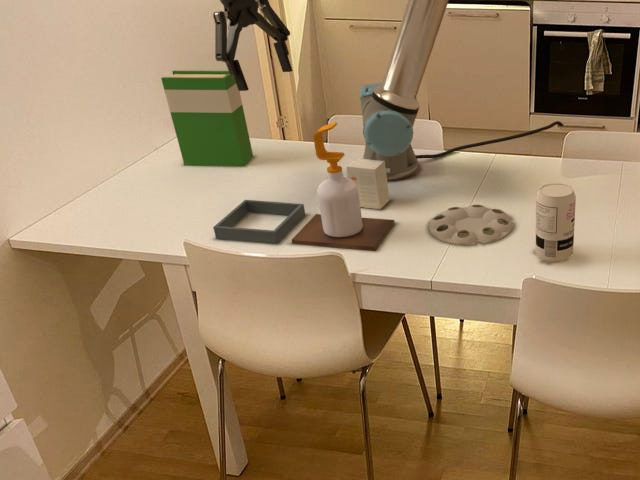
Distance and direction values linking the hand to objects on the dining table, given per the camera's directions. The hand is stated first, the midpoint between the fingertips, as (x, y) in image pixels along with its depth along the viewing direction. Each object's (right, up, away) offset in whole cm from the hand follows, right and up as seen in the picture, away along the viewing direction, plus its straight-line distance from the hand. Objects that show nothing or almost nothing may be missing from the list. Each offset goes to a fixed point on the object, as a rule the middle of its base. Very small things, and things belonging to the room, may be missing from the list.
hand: (266, 80), depth 174 cm
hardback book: (-26, -7, +42) cm, 50 cm away
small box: (+22, -25, +15) cm, 37 cm away
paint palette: (+47, -33, +3) cm, 58 cm away
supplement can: (+65, -42, -10) cm, 78 cm away
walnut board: (+18, -35, +2) cm, 39 cm away
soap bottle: (+18, -34, +1) cm, 39 cm away
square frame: (-3, -33, +6) cm, 33 cm away
